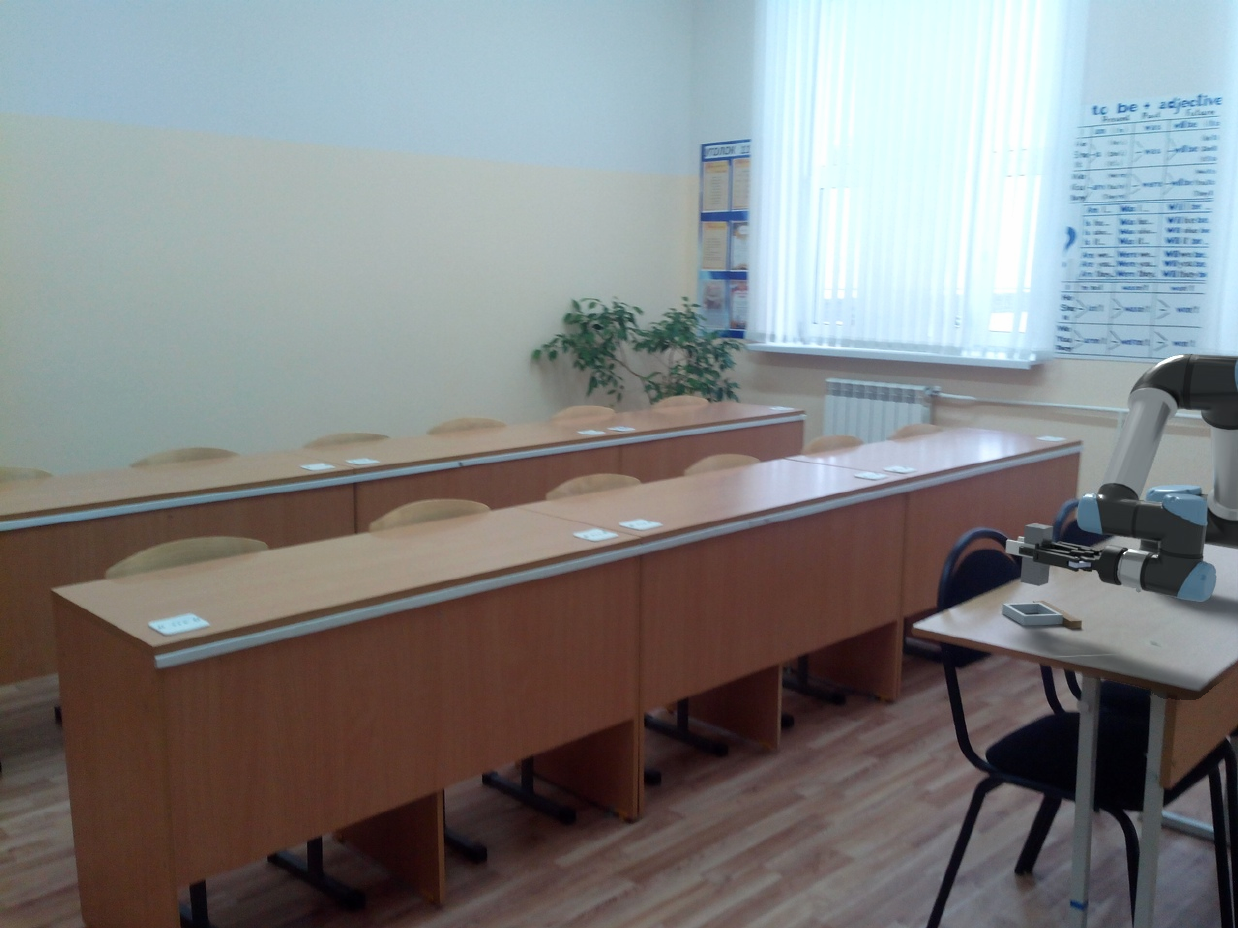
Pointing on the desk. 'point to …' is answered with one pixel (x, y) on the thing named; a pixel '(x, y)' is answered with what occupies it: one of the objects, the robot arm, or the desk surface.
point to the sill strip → (1064, 616)
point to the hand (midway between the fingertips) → (1012, 544)
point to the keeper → (1043, 618)
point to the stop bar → (1030, 569)
